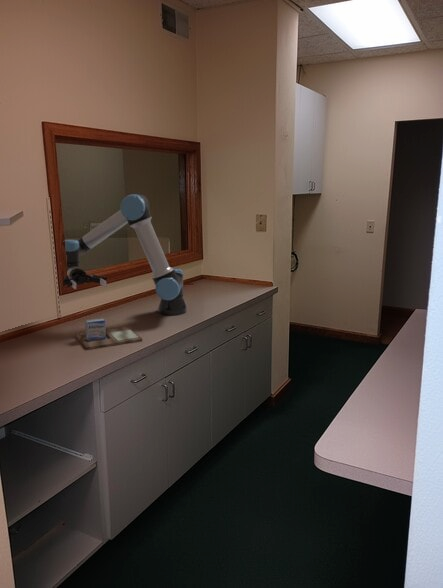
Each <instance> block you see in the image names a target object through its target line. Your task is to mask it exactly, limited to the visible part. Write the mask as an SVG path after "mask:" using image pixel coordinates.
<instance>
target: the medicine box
mask: <svg viewBox="0 0 443 588" xmlns="http://www.w3.org/2000/svg"><path fill="white" fill-rule="evenodd" d="M84 323H85V324H84V325H85V332H86V336H85V338H86V340H87V342H91V341H98V340H104V339H107V335H106V329H107V328H106V320H105V319H104V318H95V319H94V318H93V319H85V320H84Z"/></svg>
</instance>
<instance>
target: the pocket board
mask: <svg viewBox="0 0 443 588" xmlns="http://www.w3.org/2000/svg"><path fill="white" fill-rule="evenodd" d="M105 329H106V337H108V338H106V339H102V340H95V341H86V340H85V339H84V337H86V331H85V332H79V333H75V337H76V338H77V340H78V341H79V342H80V343H81V345H82V346H83V347H84V348H85V349H86V351H87V350H94V349H99V348H105V347H113V346H119V345H124V344H131V343H137V342H142V341H143V338H142V337H141V336H140V335H139V334H137V333H136V332H135V331H133V330H132V329H131V328H130V327H129V326H122V327H114V328H113V327H112V328H108V329H107V328H105Z"/></svg>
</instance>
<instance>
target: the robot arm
mask: <svg viewBox="0 0 443 588" xmlns="http://www.w3.org/2000/svg"><path fill="white" fill-rule="evenodd" d="M119 206H120V208H119V210H118V211H116V212H115V213H113V215H111V216H110V217H108V218H107V219H105V220H104V221H102V222H101V223H100V224H98V225H97V226H96V227H95V228H93V229H91V230H90V231H89V232H87V233H85V235H83V236H82V237H80V238H79V239H65V240H64V241H65V248H66V255H67V267H68V268H67V275H68V276H66V277H65V276H64V278H63V280H62V286H66V287H67V288H72V289H74V290H77V286H78V285H79V286H80V285H82V284H84V283H87V284H89V283H95V284H99V285H100V286H103V287H104V288H107V284H108V278H107V277H106V276H100V275H96V274H87V272H86V271H85V270H83V269H82V268H80V257H81V256H84V255H85V254H87V253H88V252H89V251H90V250H92V249H93V248H94V247H96V246H98V245H99V244H100V243H101V242H104V240H106V239H108V237H110V236H112V235H113V234H115V233H116V232H118V230H120V229H122V228H123V227H124V226H126V225H127V224H128V225H129V227H130V228H133V229H134V231H135V233H136V236H137V238H138V241H139V242H140V245H141V247H142V249H143V251H144V252H143V253H144V255H145V257H146V259H147V261H148V264H149V266H150V269H151V271H152V276H151V278H152V281H153V283H154V285H155V289H154V290H155V293H156V295H157V296H158V297H159V298H160V300H159V303H158V308H157V309H158V313H159V314H161V315H165V316H166V315H168V316H175V315H176V316H177V315H182V314H185V313H187V304H186V301H185V298H184V271H183V270H182V269H180V268H173V267H171V266H170V263H169V262H168V259H167V257H166V256H165V255H166V254H165V253H164V251H163V248H162V246H161V243H160V241H159V238H158V236H157V234H156V232H155V229H154V227H153V224H152V218H153V217H152V214H151V212H150V208H151V207H150V201H149V199H148V198H147V197H146V196H145V195H143V194H141V193H132V194H131V193H130V194H128V195H126V196H125V197H124V198H123V199H122V200H121V202H120V205H119Z"/></svg>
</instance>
